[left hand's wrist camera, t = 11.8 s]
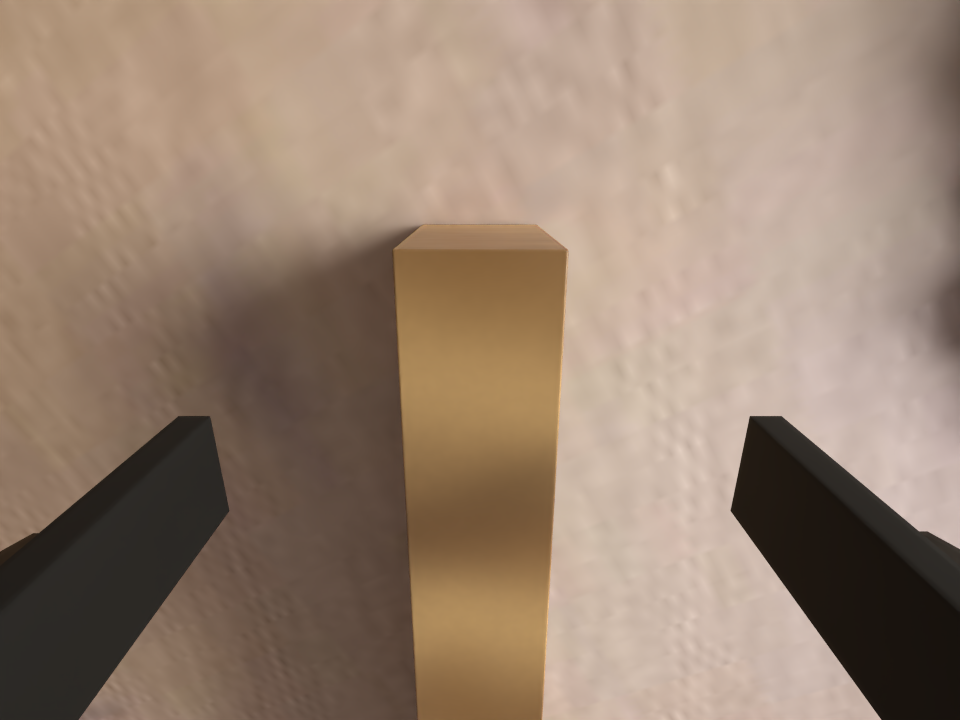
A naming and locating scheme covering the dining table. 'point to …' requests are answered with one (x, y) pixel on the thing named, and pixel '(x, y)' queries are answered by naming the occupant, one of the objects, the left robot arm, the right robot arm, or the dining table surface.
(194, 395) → the dining table surface
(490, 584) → the post
